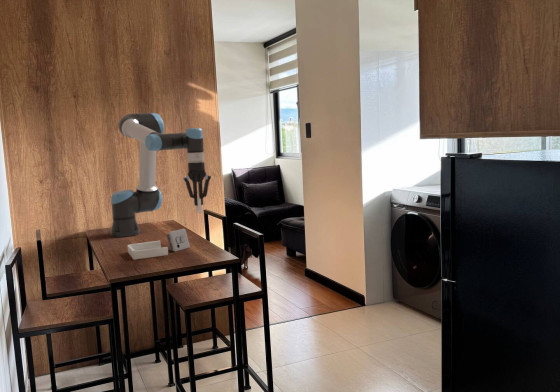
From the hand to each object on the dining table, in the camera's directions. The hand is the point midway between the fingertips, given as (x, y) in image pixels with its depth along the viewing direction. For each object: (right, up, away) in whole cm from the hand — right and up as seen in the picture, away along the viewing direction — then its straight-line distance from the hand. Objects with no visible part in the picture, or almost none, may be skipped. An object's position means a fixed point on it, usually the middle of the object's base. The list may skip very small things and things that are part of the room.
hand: (199, 212), depth 249 cm
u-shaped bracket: (-22, -18, -8) cm, 30 cm away
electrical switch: (-9, -17, -2) cm, 20 cm away
